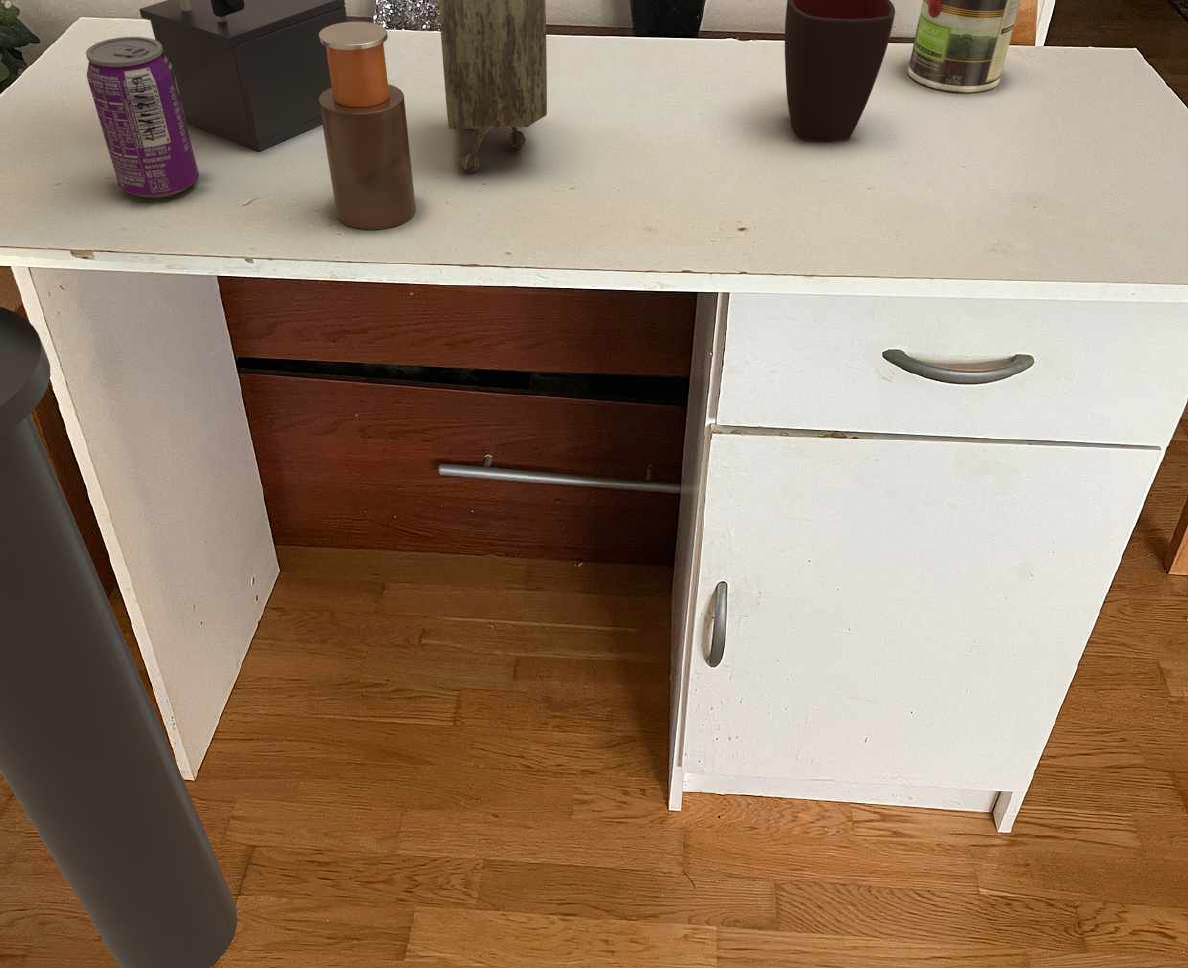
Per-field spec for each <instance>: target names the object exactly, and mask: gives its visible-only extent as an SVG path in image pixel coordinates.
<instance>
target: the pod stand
mask: <svg viewBox="0 0 1188 968" xmlns="http://www.w3.org/2000/svg"><path fill="white" fill-rule="evenodd" d="M388 88H389V98H388V99H387V100H386V101H385V102H383V103H381V104H378V105H375V106H370V107H360V108H357V107H347V106H343V105H340V104H338V103H336V102H335V101H334V99H333V93H332V87H331V88H329V89H327V90H326V91H324V92H323V93H322V94H321V95H320V97H319V105H320V112H321V118H322V124H321V125H322V131H323V137H324V142H325V149H326V156H327V161H328V167H329V175H330V181H331V186H332V195H333V200H334V205H335V211H336V212H335V213H336V217H337V219H338V220H339V221H340V222H341V223H343V224H344V225H346V226H348V227H351V228H354V229H360V230H371V231H373V230H374V231H375V230H385V229H386V230H387V229H390V228H395V227H398V226H400V225H403V224H404V223H407V222H408V221H410V220H411V219H412V218H413V217H414V216H415V214H416V211H417V207H416V198H415V188H414V178H413V169H412V159H411V150H410V140H409V132H408V130H409V129H408V121H407V111H406V103H405V102H406V101H405V95H404V92H403V90H401V89H400V88H399V87H397V86H395V85H393V84H390V83H388Z"/></svg>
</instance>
